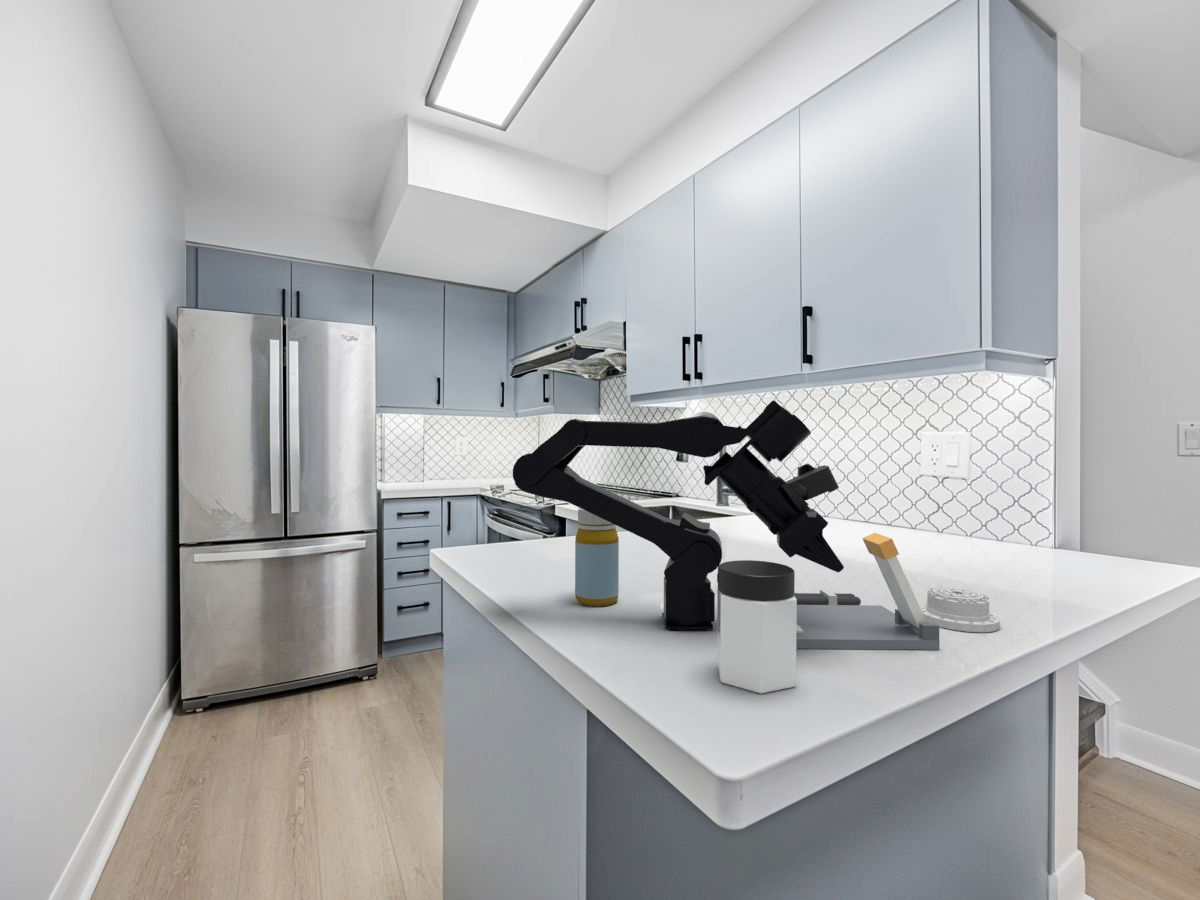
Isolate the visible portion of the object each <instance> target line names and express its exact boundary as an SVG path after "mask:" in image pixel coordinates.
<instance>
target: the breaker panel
mask: <svg viewBox="0 0 1200 900" xmlns="http://www.w3.org/2000/svg"><path fill="white" fill-rule="evenodd" d="M940 646H941V645H940V627H939V625H937V624H935V623H919V631H918V630H916V629H915V628H913V627H911V626H910V625H908V624H906V623H905V622H904V619H903V618H902V616H901V614H900V612H899V610H898V608H895V609H894V612H893V611H892V610H889V609H888V608H887V607H884V606H883V605H879V604H878V605H875V604H874V605H871V604H869V605H868V604H867V605H866V604H865V605H863V604H860V605H797V630H796V650H799V648H800V650H801V649H802V648H803V649H802V650H804V648H805V650H812V649H813V650H886V649H893V650H894V649H895V650H896V649H900V651H901V649H902V651H903V649H915V650H914V651H917V650H918V651H939V650H940ZM807 648H808V649H807ZM919 649H920V650H919ZM895 650H894V651H895ZM896 651H897V650H896Z"/></svg>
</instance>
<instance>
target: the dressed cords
mask: <svg viewBox="0 0 1200 900" xmlns="http://www.w3.org/2000/svg"><path fill="white" fill-rule="evenodd" d="M794 596H795V598H796V599H797V605H862V604H861V603H862V601H861V598H859V597H858V596H856V595H855V594H854V593H834V592H832V591H831V590H830V589H827V588H825V589H823V588H822V589H821V588H820V589H819V593H815V592H813V593H809V592H808V593H807V592H806V593H805V592H804V593H802V592H796V593H795V592H794Z"/></svg>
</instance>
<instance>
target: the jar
mask: <svg viewBox="0 0 1200 900" xmlns="http://www.w3.org/2000/svg"><path fill="white" fill-rule="evenodd" d="M795 575H796V572H795V570H794V568H792V567H790V566H789V565H785V564H782V563H778V562H772V561H764V560H750V559H749V560H748V559H746V560H745V559H743V560H731V561H730V560H729V561H725V562H722V563H720V564H719V566H718V567H717V574H716V582H717V594H716V595H717V597H716V598H717V599H716V600H717V603H716V604H717V610H716V611H717V612H716V613H717V617H716V618H717V624H716V625H717V626H716V627H717V628H716V630H717V633H716V634H717V635H716V636H717V637H716V640H717V641H716V649H717V650H716V666H717V671H718V676H719V681H720V682H721V683H722V684H725V685H729V686H732V687H736V688H740V689H742V690H743V689H744V690H746V691H750V692H753V693H754V692H755V693H757V694H766V693H770V692H776V691H780V690H786V689H791V688H795V687H796V686H797V649H796V630H797V599H796V598H795V596H794V593H795V584H796V583H795V578H796V577H795Z"/></svg>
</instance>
